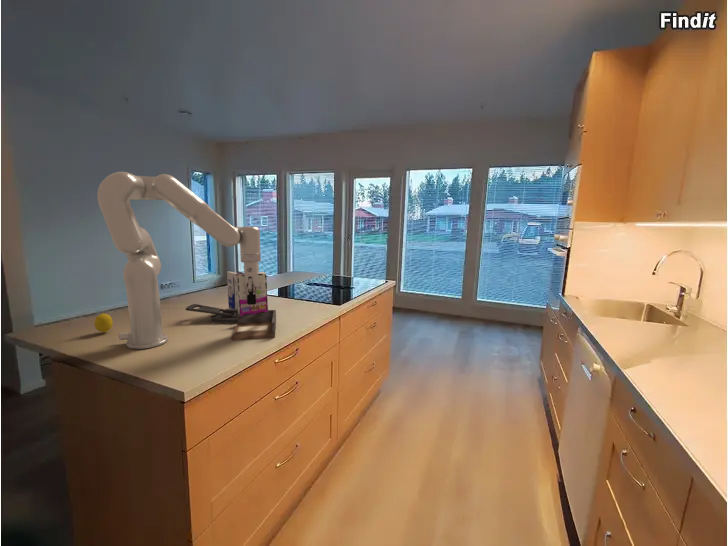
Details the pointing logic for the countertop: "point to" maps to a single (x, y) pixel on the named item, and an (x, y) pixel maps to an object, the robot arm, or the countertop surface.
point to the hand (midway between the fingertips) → (252, 301)
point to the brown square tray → (255, 326)
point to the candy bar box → (260, 293)
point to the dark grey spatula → (217, 313)
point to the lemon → (103, 323)
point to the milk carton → (232, 289)
